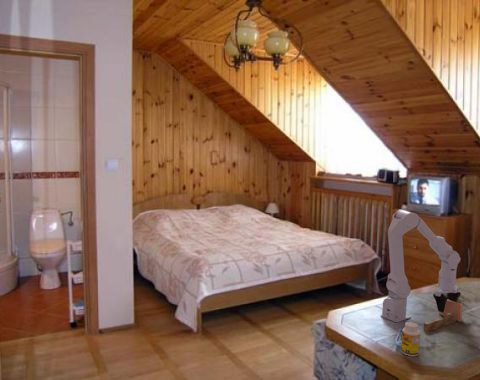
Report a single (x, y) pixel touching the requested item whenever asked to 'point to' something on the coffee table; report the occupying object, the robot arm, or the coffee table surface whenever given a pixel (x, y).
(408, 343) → the supplement bottle
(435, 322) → the walnut board
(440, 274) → the beverage can
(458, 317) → the tan flat plank
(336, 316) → the coffee table surface
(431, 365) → the coffee table surface
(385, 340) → the coffee table surface
